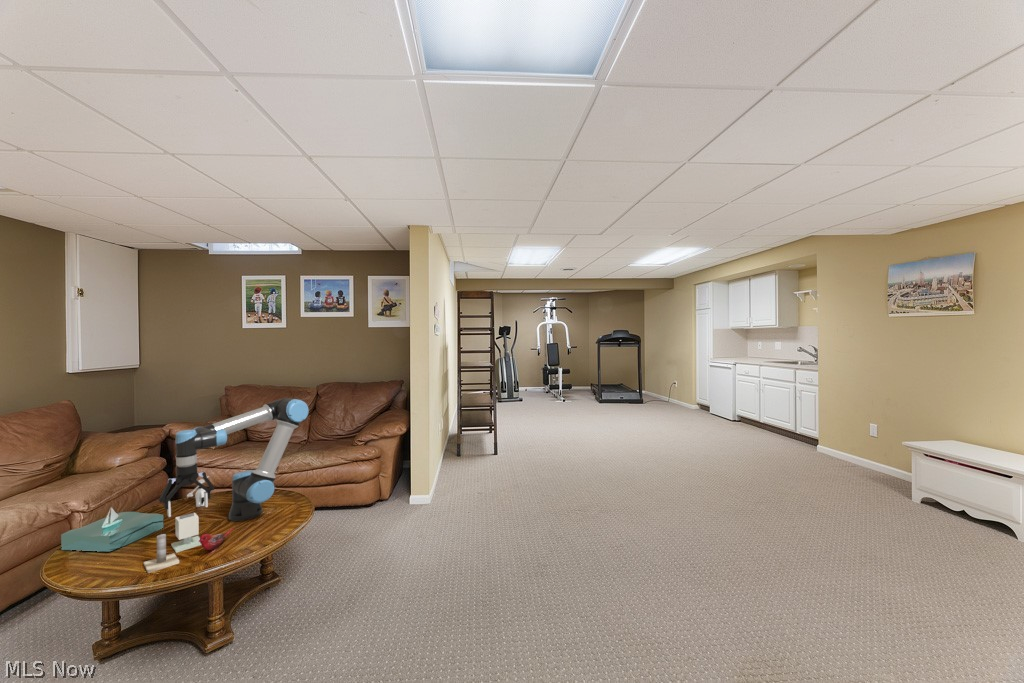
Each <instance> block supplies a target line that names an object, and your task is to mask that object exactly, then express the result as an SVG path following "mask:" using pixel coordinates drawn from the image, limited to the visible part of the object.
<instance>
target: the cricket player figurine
mask: <svg viewBox="0 0 1024 683" xmlns="http://www.w3.org/2000/svg"><path fill="white" fill-rule="evenodd" d="M206 477H207V478H208V479H209V478H210V476H209V475H206ZM197 481H198V482H200V483H201V484H202V485H203V484H204V483H206V481H205V480H204V479H202V478H200V479H199V480H198V479H197ZM195 491H196V492H195ZM194 492H195V494H194ZM204 492H206V491H205V490H204V489H202V488H201V487H200V486H198V485H196V487H194V489H193V490H191V491H190V492H189V493H187V494H186V498H190V497H191V498H195V506H196V508H199V507H205V506H204Z"/></svg>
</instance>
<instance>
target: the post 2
mask: <svg viewBox="0 0 1024 683" xmlns="http://www.w3.org/2000/svg"><path fill="white" fill-rule="evenodd" d="M199 540H200V536H199V535H195V536H191V537H188V538H184V539H181V540H179V541H175V542H172V543H171V547H172V549H173V551H174V553H175V554H177V553H181V552H183V551H186V550H189V549H192V548H196V547H199V546H202V545H201V543H200V542H199Z"/></svg>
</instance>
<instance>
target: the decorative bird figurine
mask: <svg viewBox="0 0 1024 683" xmlns="http://www.w3.org/2000/svg"><path fill="white" fill-rule="evenodd" d="M234 530H235V527H233V528H232V529H229V531H227V532H226V533H217V534H212V535H211V534H209V533H204V534H202V535H201V536H199V538H200V540H199V542H200V543H201V545H200V546H202V548H203V550H206V551H210V552H208V555H210V554H213V553H214V552H216V551H217V550H218V547H219V546H221V544H222V543H223V542H224V541H225V540H226V538H227V536H228V535H230V534H231V532H232V531H234Z"/></svg>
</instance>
